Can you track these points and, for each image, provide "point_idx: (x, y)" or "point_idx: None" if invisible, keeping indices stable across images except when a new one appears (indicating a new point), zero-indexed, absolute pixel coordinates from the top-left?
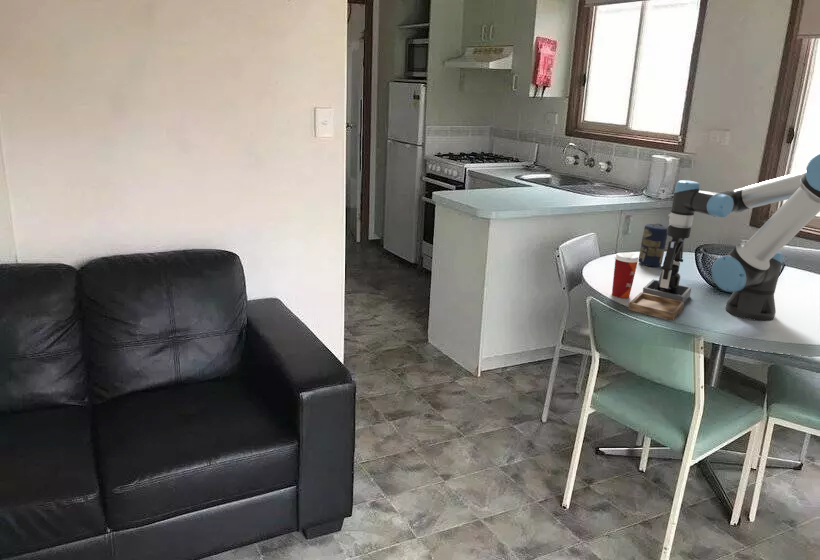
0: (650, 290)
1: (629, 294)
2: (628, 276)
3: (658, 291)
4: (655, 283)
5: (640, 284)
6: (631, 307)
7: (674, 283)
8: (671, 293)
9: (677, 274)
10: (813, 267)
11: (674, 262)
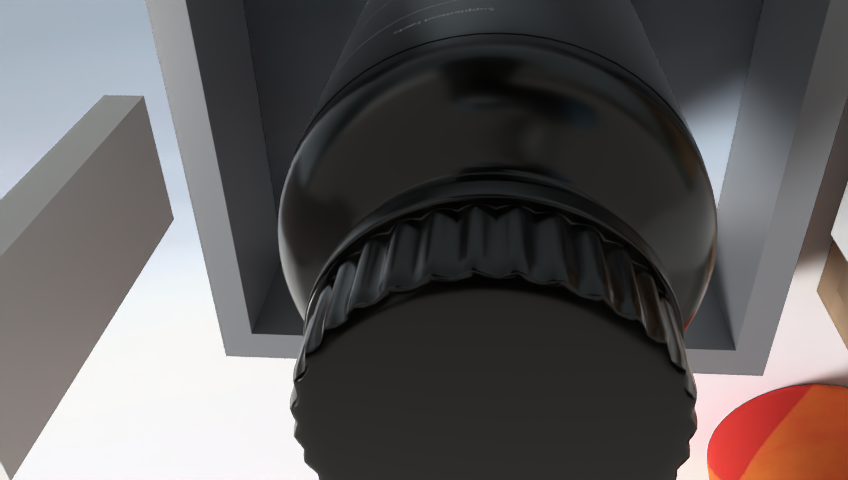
0: (780, 285)
1: (843, 408)
2: None
3: (814, 192)
4: (259, 291)
5: (228, 381)
6: None
7: (652, 65)
8: (629, 6)
9: (552, 146)
10: None
11: (2, 422)
